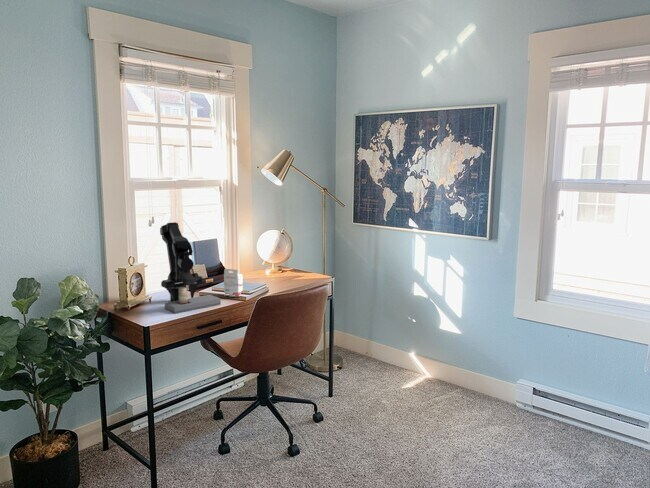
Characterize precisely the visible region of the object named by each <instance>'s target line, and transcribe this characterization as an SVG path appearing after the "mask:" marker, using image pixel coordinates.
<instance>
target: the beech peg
mask: <svg viewBox="0 0 650 488" xmlns="http://www.w3.org/2000/svg"><path fill="white" fill-rule="evenodd" d="M178 291H179V303H180V305H182V304H187V303H188V299H189V298H188V295H189V294H188V287H187V286H186V287H180V288H178Z"/></svg>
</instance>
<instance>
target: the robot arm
mask: <svg viewBox="0 0 650 488" xmlns="http://www.w3.org/2000/svg"><path fill="white" fill-rule="evenodd" d="M159 229H160V230H159V233H160V236H161V239H162V241H163V242H164V243H165V244H166V251H167V257H168V262H169V263H168V265H169V271H170V272H169V273H168V276H167V279H163V280H162V281H161V285H160V286H161V287H162V288H164V289H166V290H167V292H168V293H169V295H170V296H169V301H167V303H168V302H173V301H179V291H178V288H180V287H187V286H189V292H190V298H194V295H195V293H196V290H197V287H199V285H200V286H201V284H202V283H204V278H203V276H201V275H199V273H198V272H195V273H192V272H191V270H192V269H193V267H194V266H195V265H194V261H193V260H192V259H191V258H190V256H193V247H192V244H191V242H190V241H189V239H188V238H187V237H184V236H183V235H182V232H181V230H180V228H179V223H178V222H175V221H174V222H167V223H166V224H165V225H161V227H160V228H159Z"/></svg>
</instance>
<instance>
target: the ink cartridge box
mask: <svg viewBox="0 0 650 488" xmlns="http://www.w3.org/2000/svg"><path fill="white" fill-rule="evenodd" d="M243 277H244V276H243V273H239V270H238V269H234V268H224V271H223V285H224V286H223V287H224V288H223V290H224V293H225V294H229V295H235V296H239V295H240V294H241V293H242V291H243V292H244V284H243V281H244V279H243ZM225 294H224V295H225Z"/></svg>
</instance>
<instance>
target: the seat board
mask: <svg viewBox="0 0 650 488" xmlns="http://www.w3.org/2000/svg"><path fill="white" fill-rule="evenodd" d="M221 303H222V301H221V298H220V297H218V296H214V295H211V294H207V295H202V296H201V295H200V296H195V297H193V298H191V297H190V298H188V303H187V304H182V305H180V303H179V301H173V302H168V301H167V302H165V303H164V310H165V311H168V312H170V313H172V314H175V315H176V314H182V313H187V312H191V311H196V310H201V309H205V308H209V307H215V306H220V305H221Z"/></svg>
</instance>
